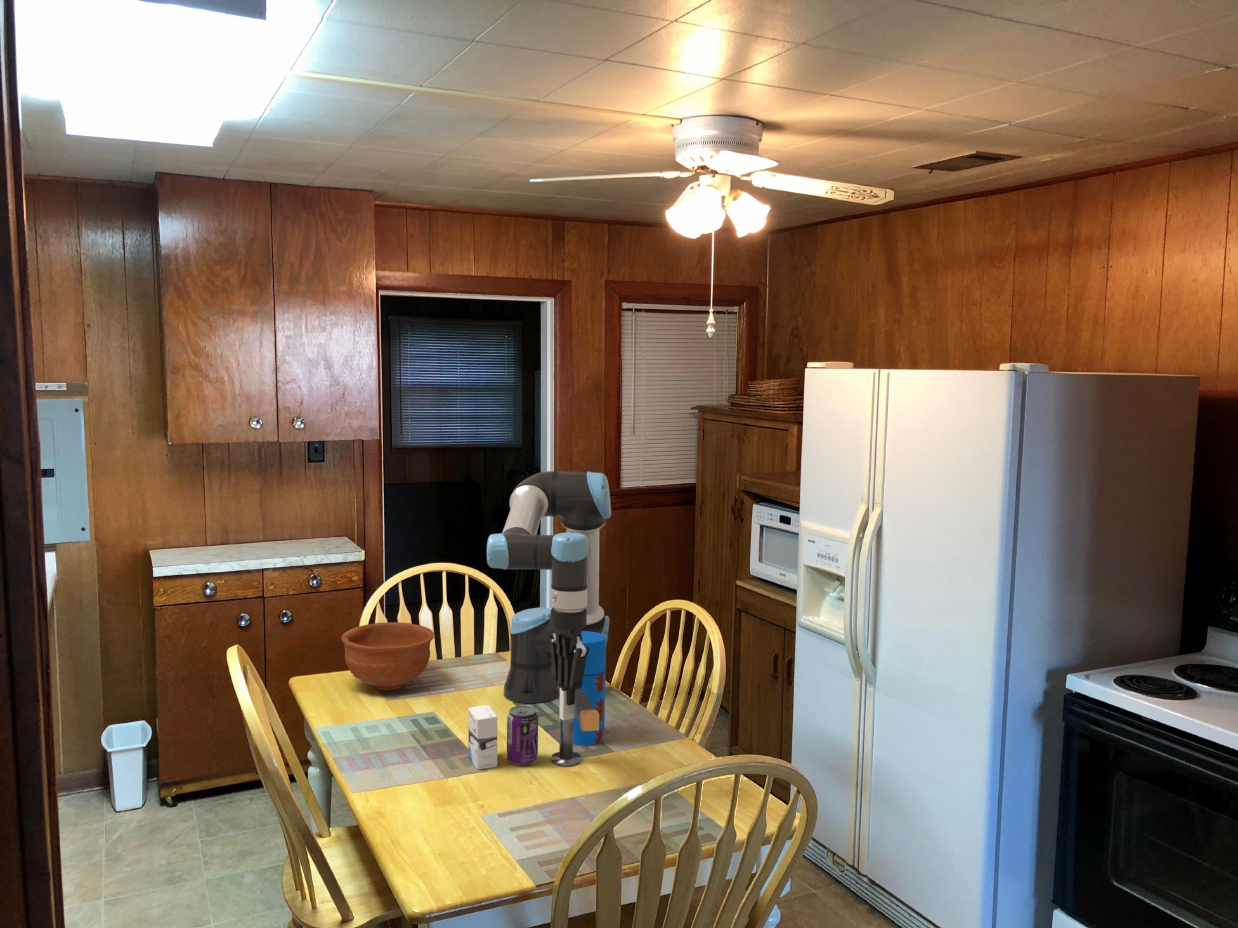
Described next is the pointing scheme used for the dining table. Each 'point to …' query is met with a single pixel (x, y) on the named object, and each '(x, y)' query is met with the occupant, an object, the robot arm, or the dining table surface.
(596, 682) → the thermos
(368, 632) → the bowl
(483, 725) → the ink box
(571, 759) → the post
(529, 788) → the dining table surface
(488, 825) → the dining table surface
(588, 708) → the swing bar
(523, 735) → the beverage can
